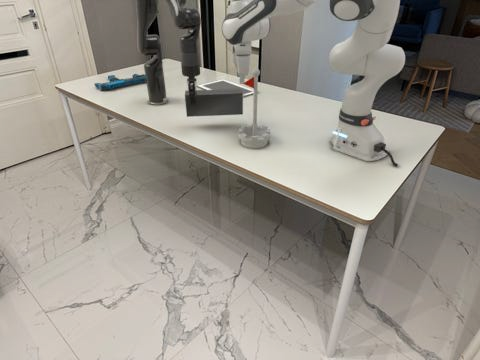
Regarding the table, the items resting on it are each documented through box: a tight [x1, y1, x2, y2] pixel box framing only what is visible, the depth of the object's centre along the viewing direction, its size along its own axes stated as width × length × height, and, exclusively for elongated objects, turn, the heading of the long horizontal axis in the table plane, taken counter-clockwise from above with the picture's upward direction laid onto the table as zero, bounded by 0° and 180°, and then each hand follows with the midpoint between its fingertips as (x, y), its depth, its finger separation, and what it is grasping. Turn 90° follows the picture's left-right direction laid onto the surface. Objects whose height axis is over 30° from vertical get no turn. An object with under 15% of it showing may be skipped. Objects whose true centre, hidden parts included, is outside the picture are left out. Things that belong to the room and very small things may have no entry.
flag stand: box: [238, 67, 272, 149], centre depth 132 cm, size 13×13×30 cm
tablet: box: [197, 78, 259, 98], centre depth 197 cm, size 32×20×1 cm, turn 41°
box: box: [184, 89, 244, 118], centre depth 148 cm, size 24×6×10 cm, turn 96°
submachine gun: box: [94, 73, 146, 91], centre depth 208 cm, size 34×4×25 cm
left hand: (193, 102), depth 147 cm, fingers closed on box, 6 cm apart
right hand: (240, 79), depth 141 cm, fingers open, 8 cm apart
